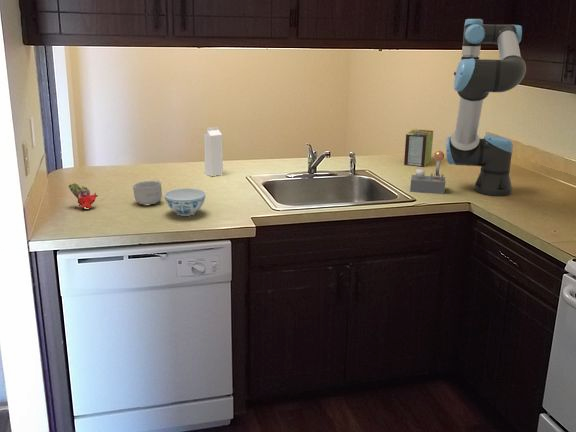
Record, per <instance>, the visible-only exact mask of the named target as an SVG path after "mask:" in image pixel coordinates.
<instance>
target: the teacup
mask: <svg viewBox="0 0 576 432" xmlns="http://www.w3.org/2000/svg"><path fill="white" fill-rule="evenodd" d="M132 189H133V196H134V199H135V201H136V202H137V203H138V204H140V205H141V204H154V205H156V204H158V203H159V202H160V200H161V199H162V197H163V196H162V195H163V192H162V182H160V181H159V179H155V180H142V181H139V182H136V183H133V185H132ZM157 202H158V203H157ZM155 203H156V204H155Z"/></svg>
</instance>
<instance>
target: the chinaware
mask: <svg viewBox="0 0 576 432" xmlns="http://www.w3.org/2000/svg"><path fill="white" fill-rule="evenodd" d="M206 193H207V192H205V190H203V189H199V188H189V187H188V188H186V187H185V188H175V189H171V190H168V191H166V192H165V193H164V195H163V196H164V200H165V202H166V204H167V206H168V208H169V209H170V210H172V211H173V212H174V213H176V215H177V214H178V215H181V216H189V217H191V216H190V215H193V216H194V215H196V212H197V211H198V210H199V209H201V208H202V206H203V205H204V203H205V199H206ZM178 215H177V216H178ZM181 216H180V217H181Z"/></svg>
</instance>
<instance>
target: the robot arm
mask: <svg viewBox="0 0 576 432" xmlns="http://www.w3.org/2000/svg"><path fill="white" fill-rule="evenodd" d="M464 21H465V22H464V26H463V38H462V39H463V40H462V49H461V58H460V61H459V62H458V65H457V68H456V69H455V70H456V71H454V72H453V76H454V82H453V89H454V91H455V92H457V94H458V96H459V104H458V111H457V118H456V123H455V124H456V125H455V131H454V132H452V134H451V136H448V137H446V144H445V145H446V146H445V147H446V148H445V149H446V156H445V157H446V162H447V163H448V164H449V165H454V166H467V167H480V172H479V174H478V177H477V178H476V180H475V182H474V187H473V190H474V192H476V193H478V194H482V195H487V196H494V197H504V196H509V195H511V194H512V189H513V187H512V186H513V185H512V181H511V177H510V169H511V163H512V156H513V152H514V151H513V146H514V143H513V141H512V140H511V139H509V138H507V137H504V136H500V135H494V134H485V135H484V136H483V138H480V135H478V130H479V126H480V125H479V124H480V119H481V114H482V110H483V104H484V100H485V99H486V98H487V97H488V96H489V94H490V93H504V92H507V91H511V90H512V89H514V88H516V87H517V86H518V85H519V84H520V83H521V82H522V80H523V79H524V77H525V76H526V71H527V65H526V61H525V60H524V58H522V55H521V50H520V46H519V44H520V43H521V41H522V35H523V26H522V25H519V24H484V20H483V19H481V18H467V19H465V20H464ZM481 44H493V45H497V48H498V57H499V59H489V58H488V59H486V58H485V59H484V58H482V59H480V57H479V56H480V55H481V46H482V45H481Z"/></svg>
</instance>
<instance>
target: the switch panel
mask: <svg viewBox="0 0 576 432" xmlns="http://www.w3.org/2000/svg"><path fill="white" fill-rule="evenodd" d="M445 188H446V176H444V173H441V174H440V179H436V178H434V173H433V172H431V173H430V175H424V176H416V174H411V179H410V187H409V192H411V193H412V192H413V193H424V194H437V195H439V194H440V195H444V194H445V190H446V189H445Z"/></svg>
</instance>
